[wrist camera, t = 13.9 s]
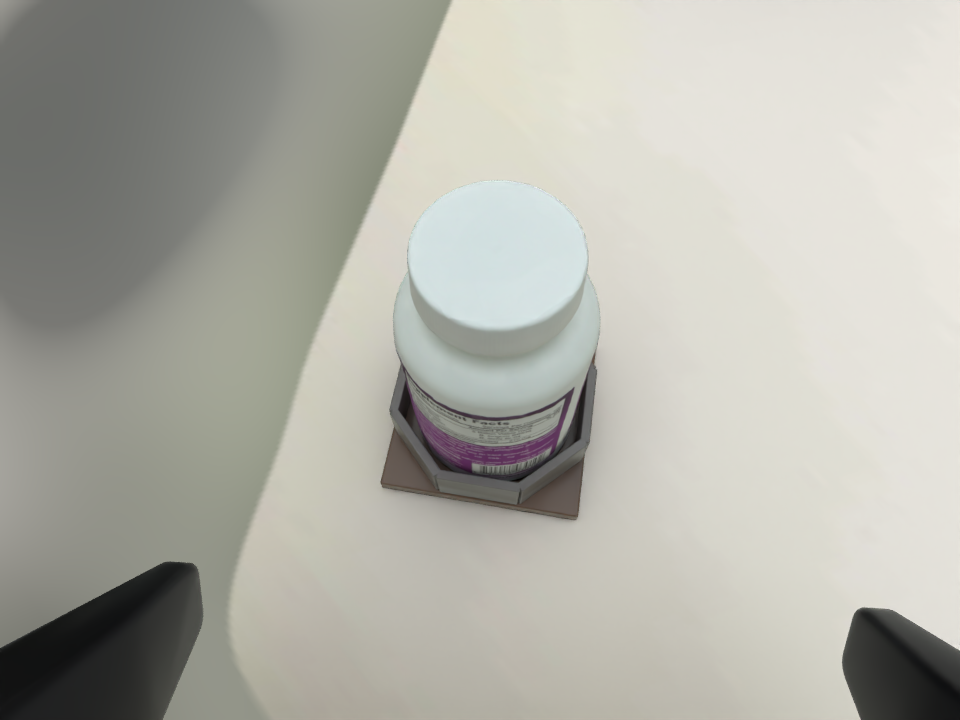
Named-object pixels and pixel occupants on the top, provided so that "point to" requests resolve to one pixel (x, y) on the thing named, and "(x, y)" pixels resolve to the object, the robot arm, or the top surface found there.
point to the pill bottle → (496, 327)
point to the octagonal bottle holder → (537, 492)
